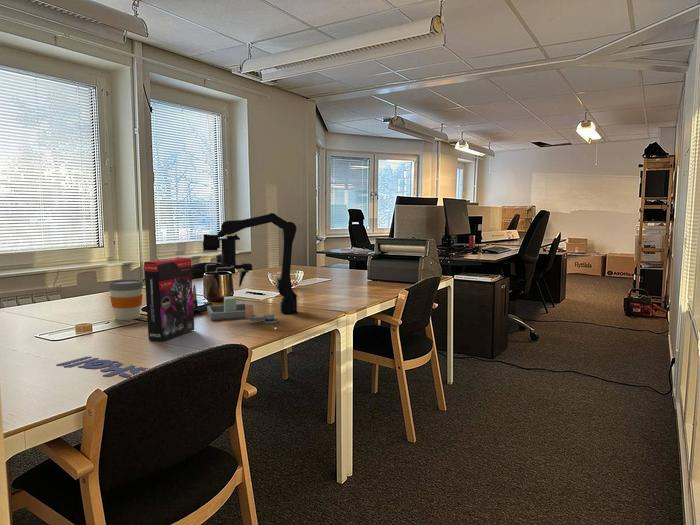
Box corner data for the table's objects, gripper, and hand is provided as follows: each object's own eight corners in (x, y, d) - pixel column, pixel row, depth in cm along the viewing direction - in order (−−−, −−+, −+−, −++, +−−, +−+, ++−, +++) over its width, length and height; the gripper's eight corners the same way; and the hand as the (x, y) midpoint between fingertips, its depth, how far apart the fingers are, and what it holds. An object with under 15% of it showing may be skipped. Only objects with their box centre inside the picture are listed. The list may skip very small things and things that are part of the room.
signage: (156, 369, 134) (125, 380, 125) (156, 371, 134) (125, 382, 125) (88, 354, 146) (56, 364, 137) (88, 357, 146) (56, 366, 137)
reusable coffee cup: (149, 317, 197) (148, 281, 195) (117, 322, 188) (116, 285, 186) (136, 313, 205) (134, 278, 204) (105, 317, 196) (103, 281, 195)
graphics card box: (161, 342, 161) (159, 262, 158) (145, 340, 164) (142, 261, 161) (195, 330, 177) (193, 257, 174) (179, 329, 179) (177, 256, 176)
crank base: (275, 319, 196) (275, 317, 196) (286, 329, 181) (286, 327, 181) (258, 320, 193) (258, 319, 193) (267, 330, 178) (267, 328, 178)
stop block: (234, 312, 206) (234, 296, 205) (236, 314, 202) (236, 298, 201) (224, 313, 204) (223, 296, 204) (225, 315, 200) (225, 298, 199)
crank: (273, 318, 194) (273, 302, 193) (275, 320, 190) (275, 304, 189) (244, 320, 190) (244, 304, 189) (246, 322, 186) (246, 306, 185)
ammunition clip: (176, 315, 202) (175, 287, 201) (173, 314, 203) (173, 286, 202) (198, 311, 211) (197, 284, 209) (195, 310, 212) (194, 283, 210)
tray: (246, 310, 214) (246, 303, 213) (253, 317, 199) (253, 310, 199) (207, 312, 207) (207, 305, 207) (211, 320, 193) (211, 313, 192)
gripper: (247, 248, 211) (248, 283, 213) (203, 249, 204) (204, 285, 206) (252, 250, 201) (252, 287, 202) (206, 251, 194) (207, 289, 196)
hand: (229, 287), depth 202 cm, fingers open, 8 cm apart
